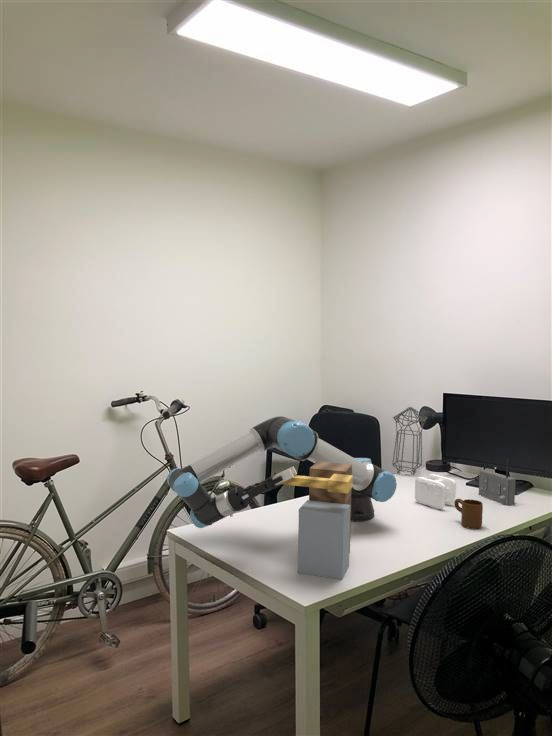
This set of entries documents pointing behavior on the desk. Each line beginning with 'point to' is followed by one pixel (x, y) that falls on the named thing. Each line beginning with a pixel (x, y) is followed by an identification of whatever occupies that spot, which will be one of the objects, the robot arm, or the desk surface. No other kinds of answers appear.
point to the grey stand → (323, 539)
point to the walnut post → (323, 494)
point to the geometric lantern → (408, 434)
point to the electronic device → (497, 486)
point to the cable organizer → (435, 491)
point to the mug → (470, 513)
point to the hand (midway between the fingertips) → (293, 471)
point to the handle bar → (323, 482)
